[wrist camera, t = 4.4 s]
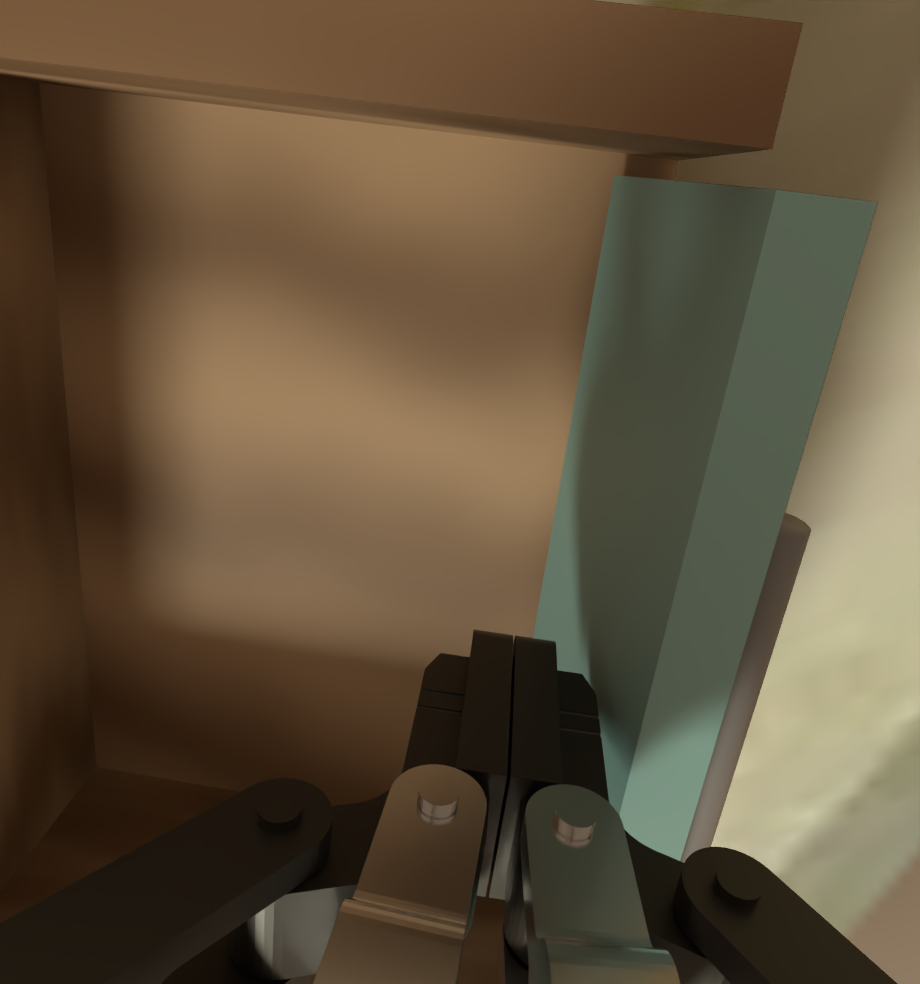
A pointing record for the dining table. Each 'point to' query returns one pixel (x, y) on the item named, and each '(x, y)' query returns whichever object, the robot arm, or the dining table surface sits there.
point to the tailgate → (691, 478)
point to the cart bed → (297, 373)
